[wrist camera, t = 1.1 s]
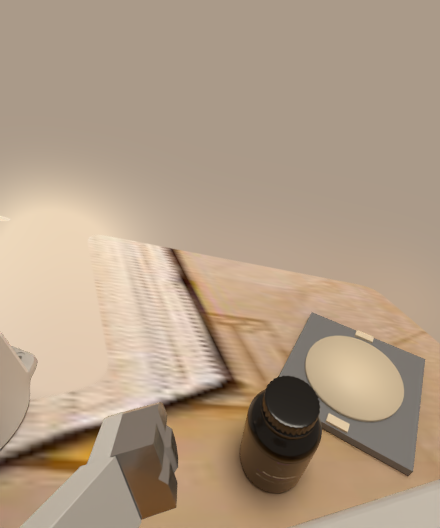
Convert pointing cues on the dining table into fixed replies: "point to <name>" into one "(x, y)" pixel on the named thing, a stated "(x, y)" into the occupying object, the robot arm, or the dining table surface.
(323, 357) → the slate board
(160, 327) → the dining table surface
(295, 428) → the supplement bottle
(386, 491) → the dining table surface
